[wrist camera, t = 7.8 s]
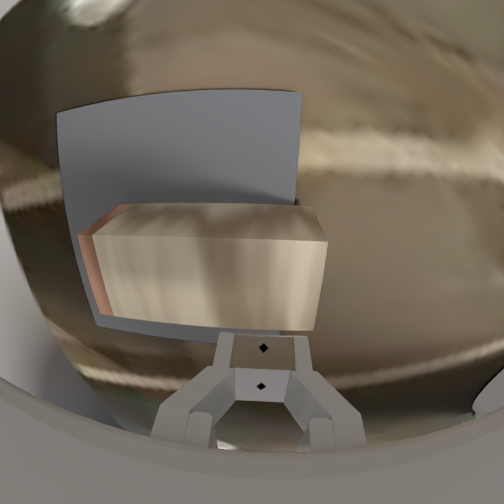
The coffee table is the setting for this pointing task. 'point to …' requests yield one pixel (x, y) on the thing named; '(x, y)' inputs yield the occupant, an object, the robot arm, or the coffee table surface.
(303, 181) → the coffee table surface
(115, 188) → the rubber mat
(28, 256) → the coffee table surface
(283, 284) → the birch block
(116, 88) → the coffee table surface
